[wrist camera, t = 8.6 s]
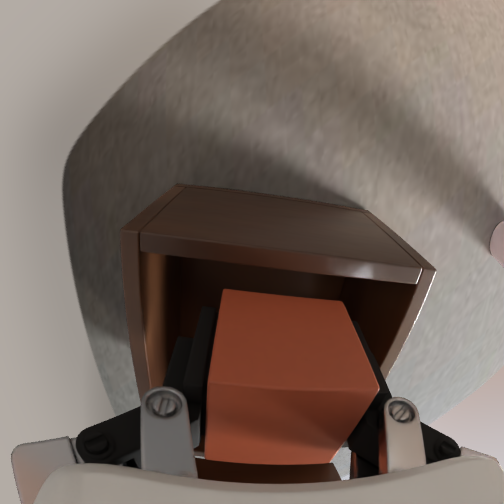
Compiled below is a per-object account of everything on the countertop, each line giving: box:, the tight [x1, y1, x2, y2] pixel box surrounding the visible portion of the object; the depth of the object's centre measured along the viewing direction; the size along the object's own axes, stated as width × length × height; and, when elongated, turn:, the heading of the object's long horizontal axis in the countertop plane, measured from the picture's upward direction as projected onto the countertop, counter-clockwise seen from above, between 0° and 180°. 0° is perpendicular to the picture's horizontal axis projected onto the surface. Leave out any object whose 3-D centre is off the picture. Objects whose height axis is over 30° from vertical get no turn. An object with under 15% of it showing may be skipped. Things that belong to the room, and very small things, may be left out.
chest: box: [120, 184, 436, 457], centre depth 17 cm, size 16×13×9 cm
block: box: [204, 289, 379, 465], centre depth 10 cm, size 4×4×4 cm
